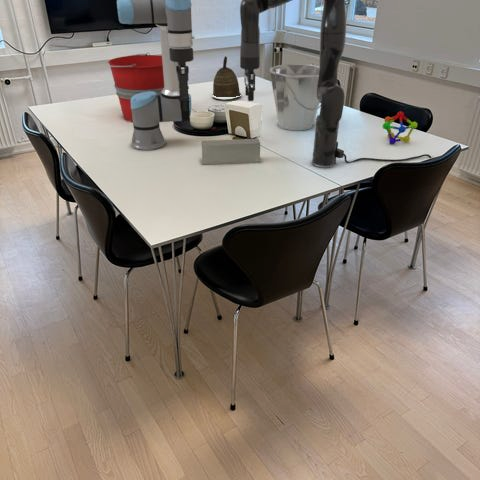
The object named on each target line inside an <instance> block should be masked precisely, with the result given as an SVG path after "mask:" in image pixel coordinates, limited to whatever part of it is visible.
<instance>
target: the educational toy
mask: <svg viewBox="0 0 480 480" xmlns="http://www.w3.org/2000/svg"><path fill="white" fill-rule="evenodd" d="M397 119H399V124H400V125H399V127H398V126H393V125H391V124H392V123H394V122H395V121H396V120H397ZM403 120H404V121H405V122H407V123H408V124H409V125H407V126H404V123H403ZM417 127H418V122H417V121H411V120H410V119H409V118H408V117H406V116H405V113H404V112H403V111H401V110H400V111H398V112H397V114H396V115H394V116H391V117H390V116H386V117H385V118H384V122H383V123H382V129H383V130H386V132H387V138H388V142H389V145H395V144H396V143H397V142H402V141H403V142H404V143H409V142H410V140H411V138H410V136H411V134H412V132H413V131H414V130H415V129H417ZM392 129H393V130H397V131H398V132H396V134H395V133H394V132H392ZM408 129H409V131H408V133H407V134H406V135H404V136H401V134H403V133H405V132H406V130H408ZM399 135H400V136H399Z"/></svg>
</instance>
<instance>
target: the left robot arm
mask: <svg viewBox="0 0 480 480" xmlns="http://www.w3.org/2000/svg"><path fill="white" fill-rule="evenodd" d="M116 8H117V16H118V21H119V24H122V25H141V24H155V26H156V27H157V28H158V29H159V36H160V37H159V38H160V49H161V56H162V63H163V76H164V88H163V89H162V91H161V95H157V94H156V92H153V91H152V92H150V91H148V92H142V93H138V94H136V95H134V96H133V97H132V98H131V109H132V117H133V122H132V125H133V132H132V135H131V147H132V148H134V149H135V150H141V151H151V150H153V151H154V150H157V149H161V148H163V147H164V146H165V144H166V140H165V137H164V135H163V132H162V130H161V127H160V123H167V122H168V123H169V122H187V121H191V113H192V95H191V94H190V93H189V89H190V87H189V83H188V82H189V78H190V77H189V73H190V68H189V65H187V63H190V62H192V61H194V48H193V40H194V39H195V35H193V24H192V23H193V22H192V21H193V20H192V1H191V0H116Z"/></svg>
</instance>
